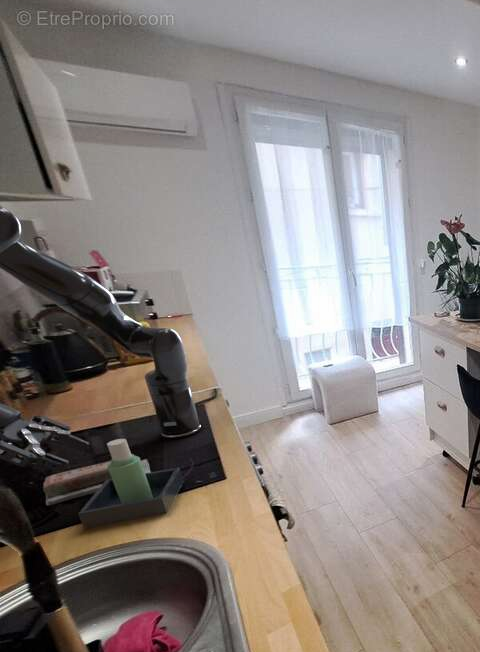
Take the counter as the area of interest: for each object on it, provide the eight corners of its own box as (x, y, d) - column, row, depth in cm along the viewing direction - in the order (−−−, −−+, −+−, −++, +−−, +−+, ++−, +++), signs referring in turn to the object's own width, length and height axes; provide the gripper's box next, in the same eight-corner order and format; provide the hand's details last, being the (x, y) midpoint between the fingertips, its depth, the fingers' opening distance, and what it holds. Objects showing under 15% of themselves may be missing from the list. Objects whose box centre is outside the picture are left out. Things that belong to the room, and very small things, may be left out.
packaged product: (38, 490, 91) (41, 472, 97) (47, 508, 92) (49, 489, 99) (147, 461, 103) (143, 447, 109) (152, 478, 105) (148, 462, 111)
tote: (112, 495, 97) (106, 479, 96) (184, 483, 103) (179, 467, 101) (85, 531, 86) (77, 513, 84) (167, 515, 92) (161, 498, 90)
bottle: (128, 499, 95) (105, 438, 90) (156, 494, 98) (136, 434, 92) (119, 512, 91) (94, 449, 85) (149, 506, 93) (127, 445, 88)
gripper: (-41, 415, 72) (72, 459, 81) (11, 388, 84) (104, 429, 93) (-72, 448, 72) (44, 488, 80) (-16, 416, 83) (80, 454, 92)
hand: (76, 456), depth 87 cm, fingers open, 8 cm apart
